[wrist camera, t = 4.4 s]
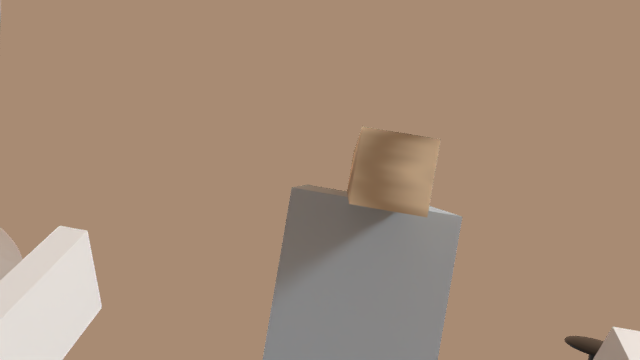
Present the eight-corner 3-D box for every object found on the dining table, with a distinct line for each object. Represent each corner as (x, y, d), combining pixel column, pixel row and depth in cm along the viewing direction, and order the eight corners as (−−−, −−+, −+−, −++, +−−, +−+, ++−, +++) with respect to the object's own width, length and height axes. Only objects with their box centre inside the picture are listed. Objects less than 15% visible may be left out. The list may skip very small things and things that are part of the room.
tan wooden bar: (349, 203, 24) (362, 126, 24) (347, 191, 47) (353, 151, 47) (427, 217, 24) (440, 139, 24) (386, 198, 47) (393, 158, 47)
